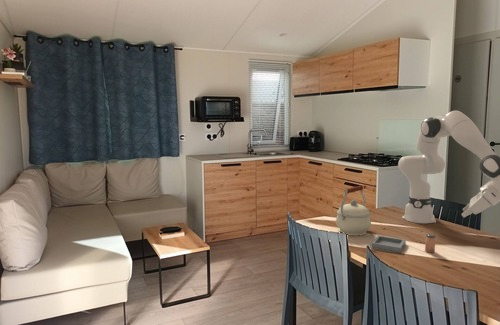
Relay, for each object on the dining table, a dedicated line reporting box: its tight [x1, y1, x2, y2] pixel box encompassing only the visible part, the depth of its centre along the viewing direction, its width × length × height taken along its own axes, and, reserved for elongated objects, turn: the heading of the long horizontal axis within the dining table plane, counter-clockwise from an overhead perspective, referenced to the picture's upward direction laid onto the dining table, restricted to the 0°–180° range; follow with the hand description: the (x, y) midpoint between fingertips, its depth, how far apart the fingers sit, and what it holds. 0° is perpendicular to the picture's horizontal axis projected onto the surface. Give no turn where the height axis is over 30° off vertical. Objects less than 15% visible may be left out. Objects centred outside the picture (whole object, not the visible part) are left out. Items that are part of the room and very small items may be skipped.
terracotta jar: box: [424, 233, 436, 254], centre depth 175 cm, size 4×4×8 cm
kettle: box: [335, 185, 372, 237], centre depth 206 cm, size 25×18×25 cm
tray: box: [371, 234, 407, 254], centre depth 183 cm, size 13×13×2 cm
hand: (463, 213), depth 167 cm, fingers open, 8 cm apart
